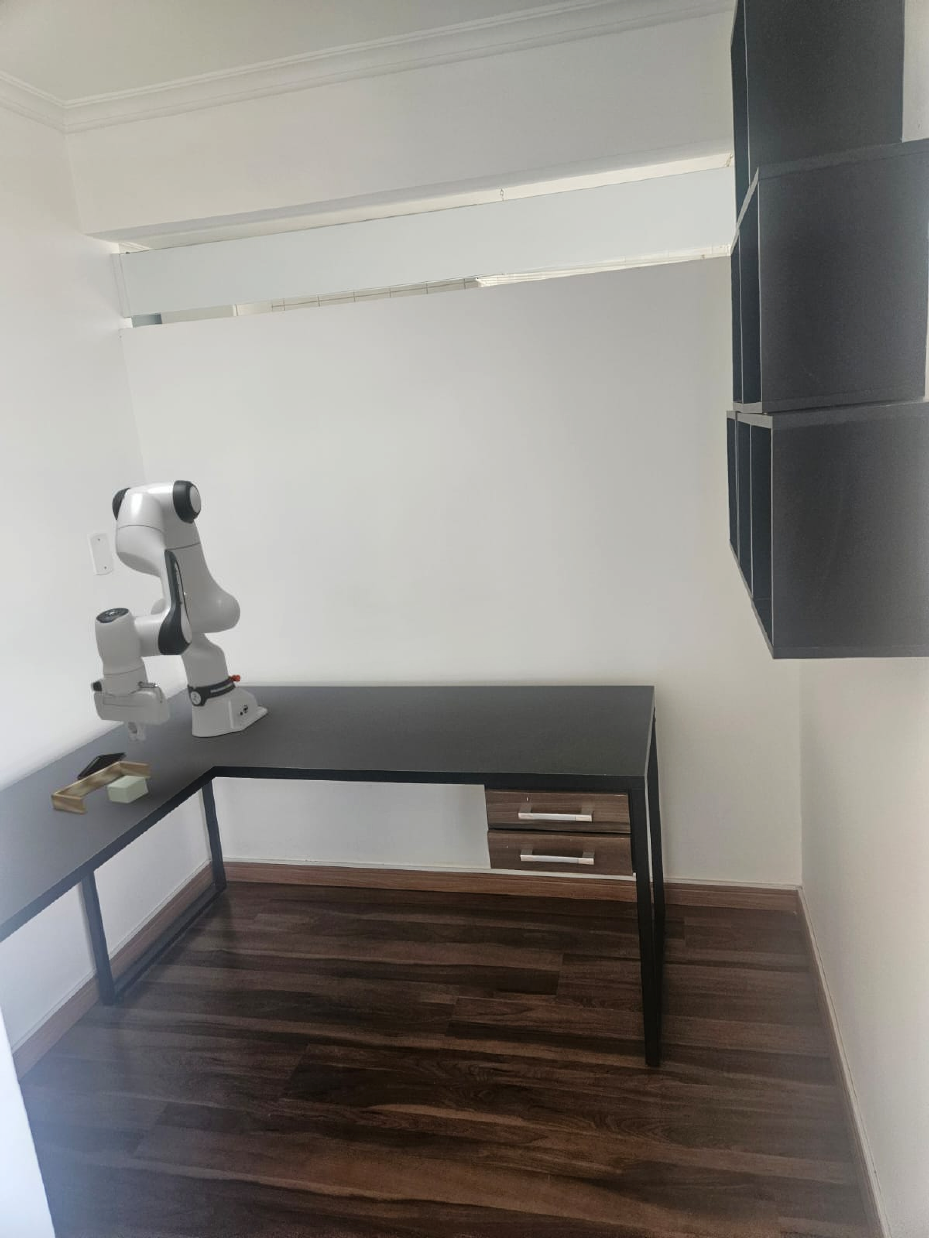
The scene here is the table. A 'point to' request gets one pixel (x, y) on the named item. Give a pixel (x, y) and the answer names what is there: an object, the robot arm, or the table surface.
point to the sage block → (127, 789)
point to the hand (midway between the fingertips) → (139, 739)
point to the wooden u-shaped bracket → (95, 784)
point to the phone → (101, 764)
